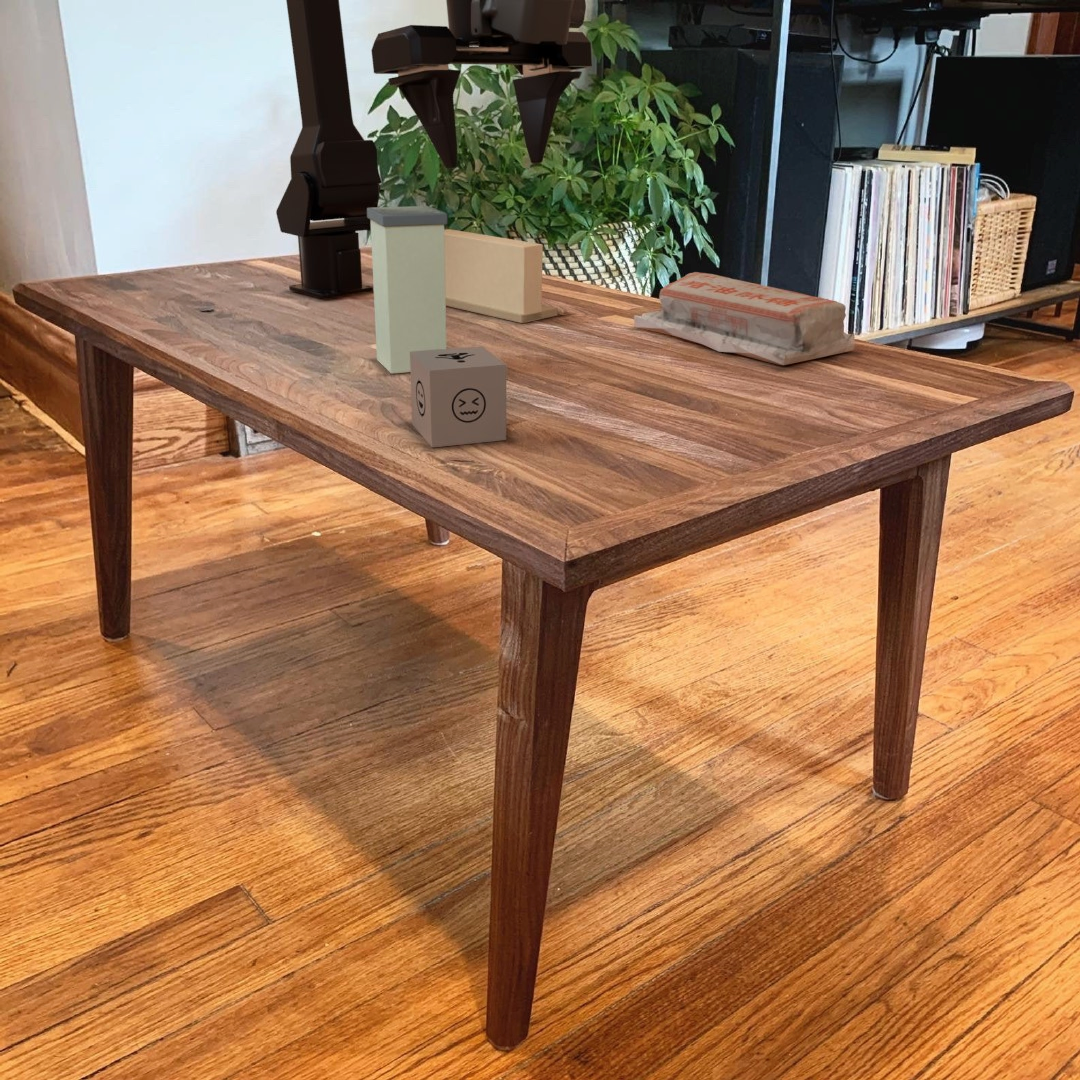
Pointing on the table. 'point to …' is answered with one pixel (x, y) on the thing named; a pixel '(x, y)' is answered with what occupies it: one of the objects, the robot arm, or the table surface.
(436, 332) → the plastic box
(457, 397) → the dice cube
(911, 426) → the table surface
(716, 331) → the packaged product
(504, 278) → the wall
